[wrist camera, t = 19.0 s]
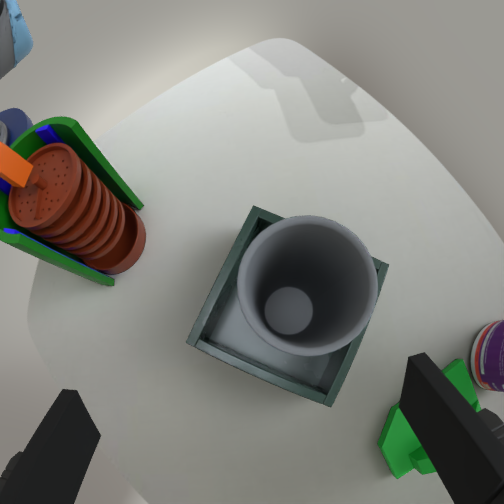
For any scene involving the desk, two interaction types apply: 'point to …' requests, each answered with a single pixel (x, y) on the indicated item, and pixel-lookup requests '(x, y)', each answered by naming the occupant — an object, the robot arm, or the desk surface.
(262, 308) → the cup
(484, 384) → the pill bottle
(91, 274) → the coaster caddy
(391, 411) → the bracket
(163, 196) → the desk surface
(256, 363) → the holder
